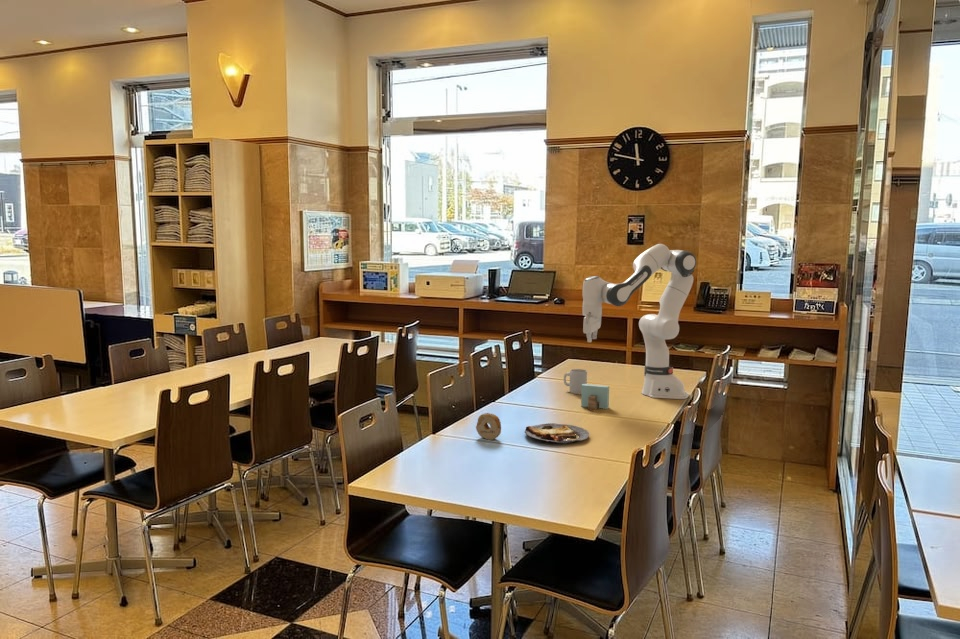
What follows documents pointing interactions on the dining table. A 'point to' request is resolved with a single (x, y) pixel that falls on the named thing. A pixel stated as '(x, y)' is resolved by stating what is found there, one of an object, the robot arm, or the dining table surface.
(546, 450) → the dining table surface
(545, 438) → the food plate
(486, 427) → the stone disc
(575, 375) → the mug
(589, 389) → the teal notched block
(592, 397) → the brown notched block
